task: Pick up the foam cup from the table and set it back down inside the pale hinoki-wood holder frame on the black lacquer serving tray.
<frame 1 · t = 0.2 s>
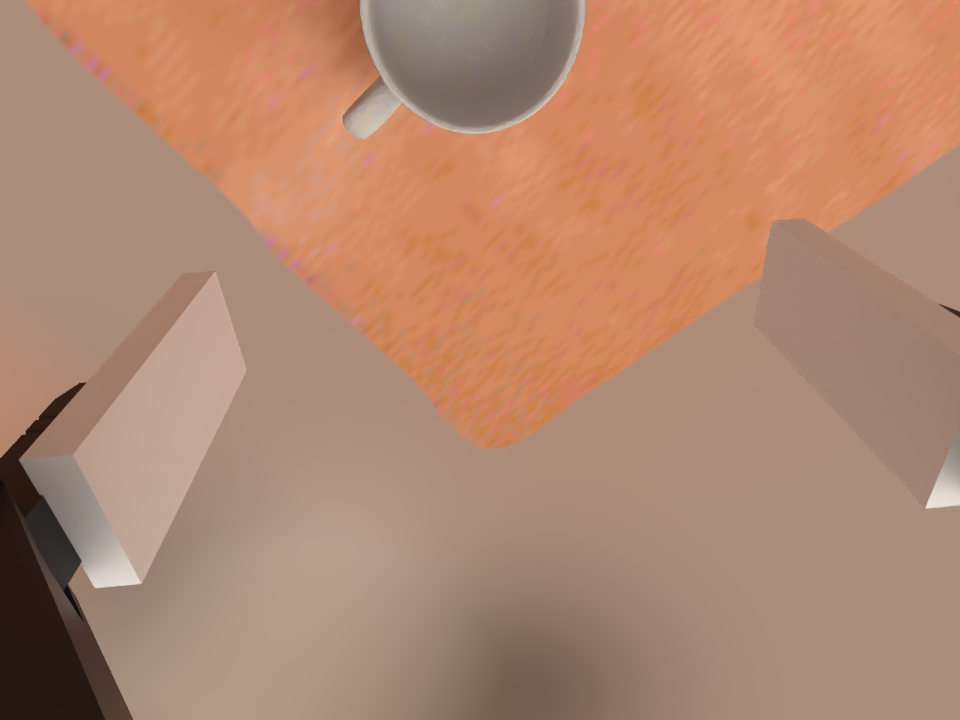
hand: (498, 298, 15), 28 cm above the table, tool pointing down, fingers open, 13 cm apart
teacup: (443, 25, 37), on the table
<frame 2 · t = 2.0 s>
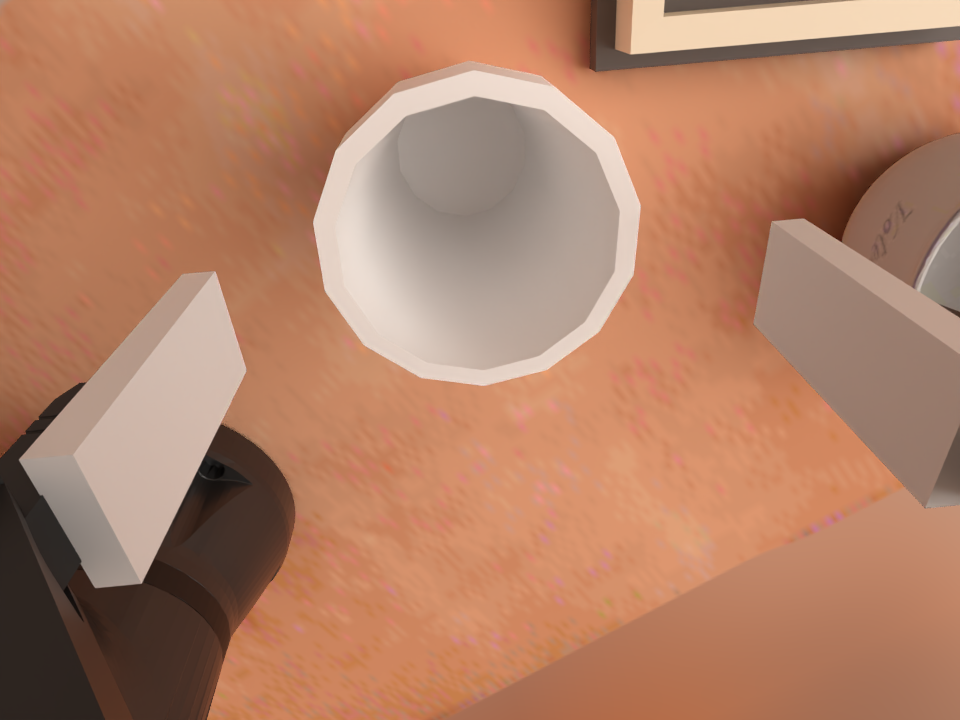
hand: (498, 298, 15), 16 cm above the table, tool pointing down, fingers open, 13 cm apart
teacup: (916, 242, 33), on the table
foam cup: (461, 148, 29), on the table
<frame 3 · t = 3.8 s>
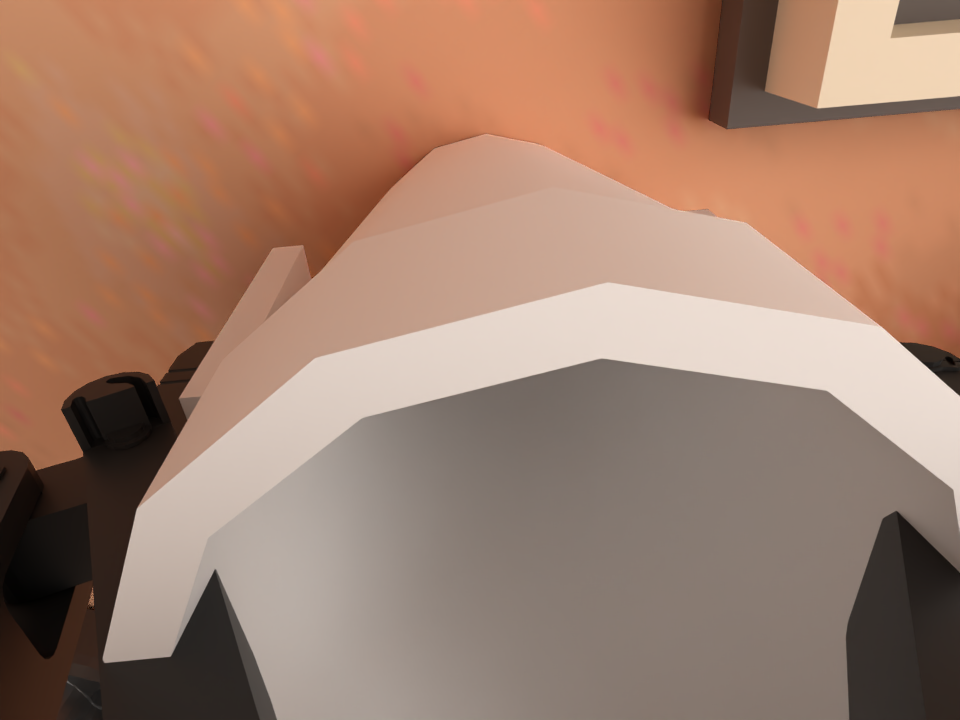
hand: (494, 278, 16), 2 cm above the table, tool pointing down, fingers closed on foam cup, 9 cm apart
foam cup: (488, 246, 18), on the table, touching gripper
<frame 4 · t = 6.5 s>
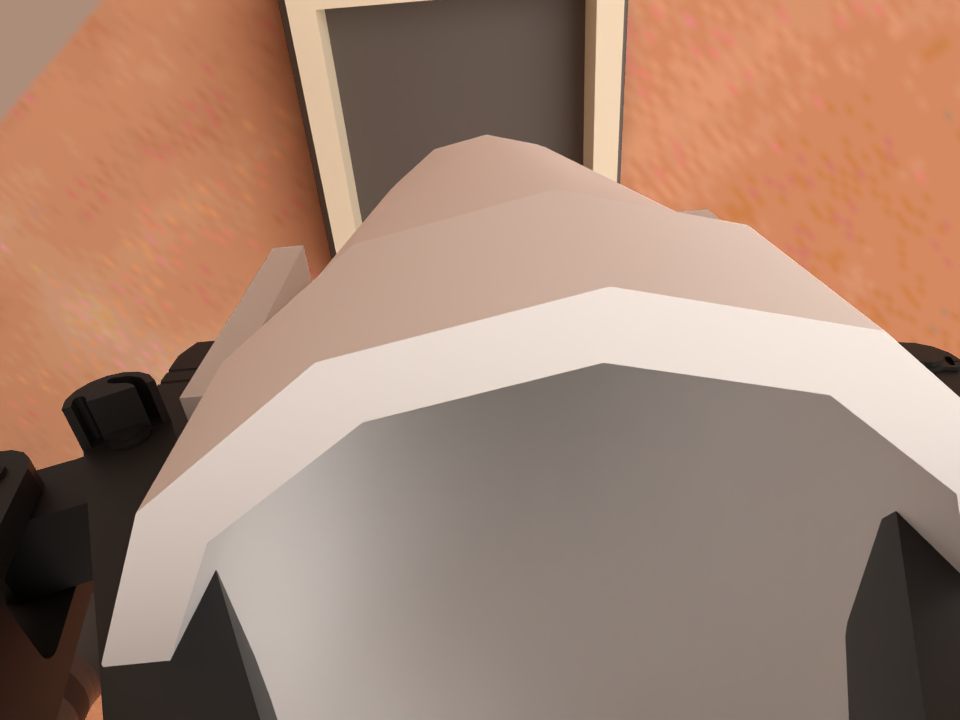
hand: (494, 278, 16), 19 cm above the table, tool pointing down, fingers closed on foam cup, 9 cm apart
tray: (465, 128, 33), on the table
foam cup: (488, 247, 18), point 17 cm above the table, touching gripper
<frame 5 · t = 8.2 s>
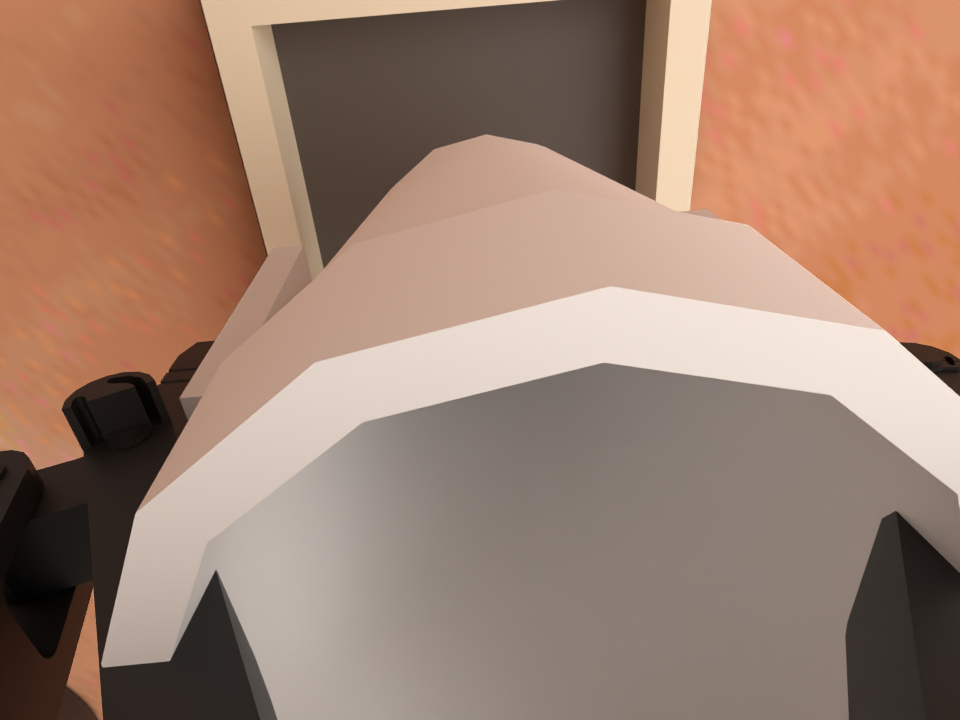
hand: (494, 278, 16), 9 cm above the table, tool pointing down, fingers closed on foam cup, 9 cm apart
tray: (472, 184, 24), on the table
foam cup: (488, 247, 18), point 7 cm above the table, touching gripper
when the fingers open (5 cm above the table, at t = 9.5 s): foam cup drops 2 cm, resting on tray.
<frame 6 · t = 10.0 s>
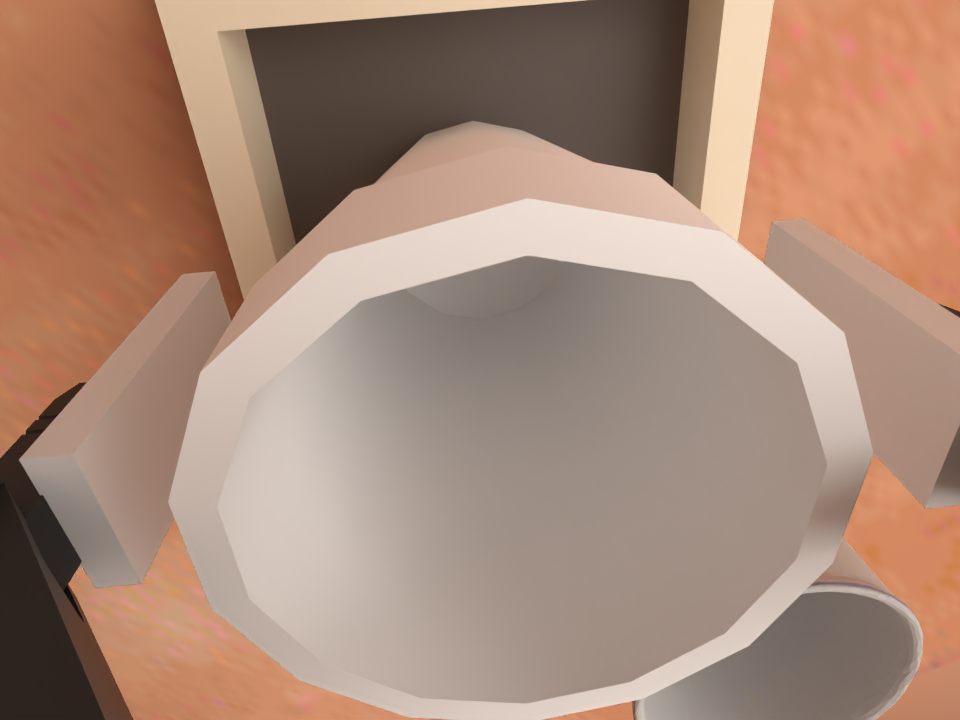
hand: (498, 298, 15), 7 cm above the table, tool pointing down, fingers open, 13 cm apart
tray: (481, 211, 21), on the table
teacup: (709, 550, 30), on the table
foam cup: (476, 223, 20), point 1 cm above the table, touching tray
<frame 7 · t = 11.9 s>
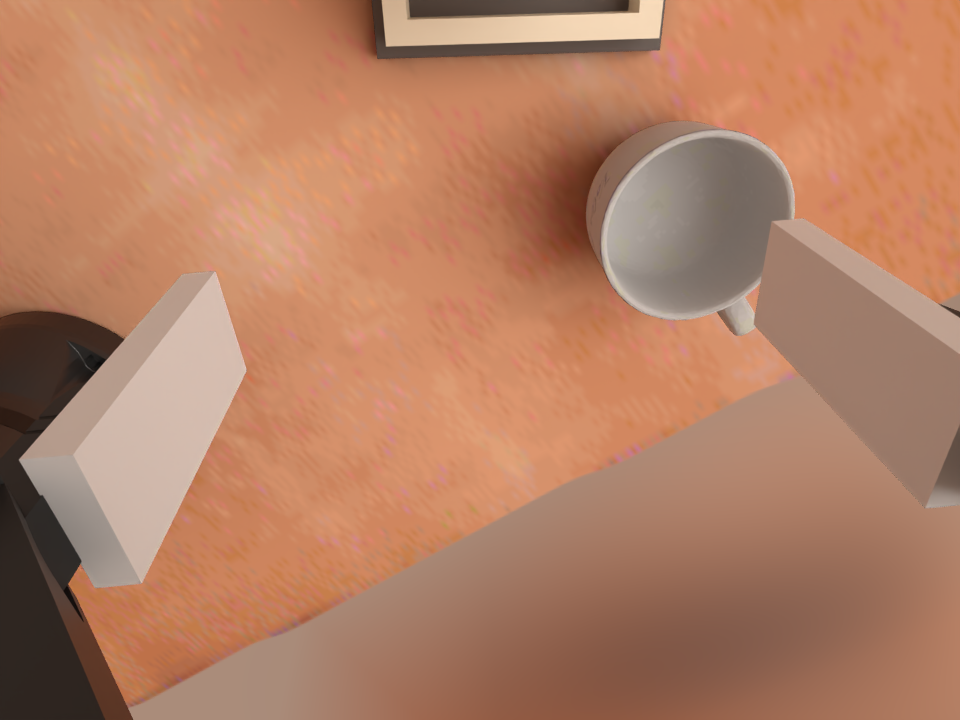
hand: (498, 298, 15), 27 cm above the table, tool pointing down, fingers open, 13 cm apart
teacup: (664, 212, 42), on the table
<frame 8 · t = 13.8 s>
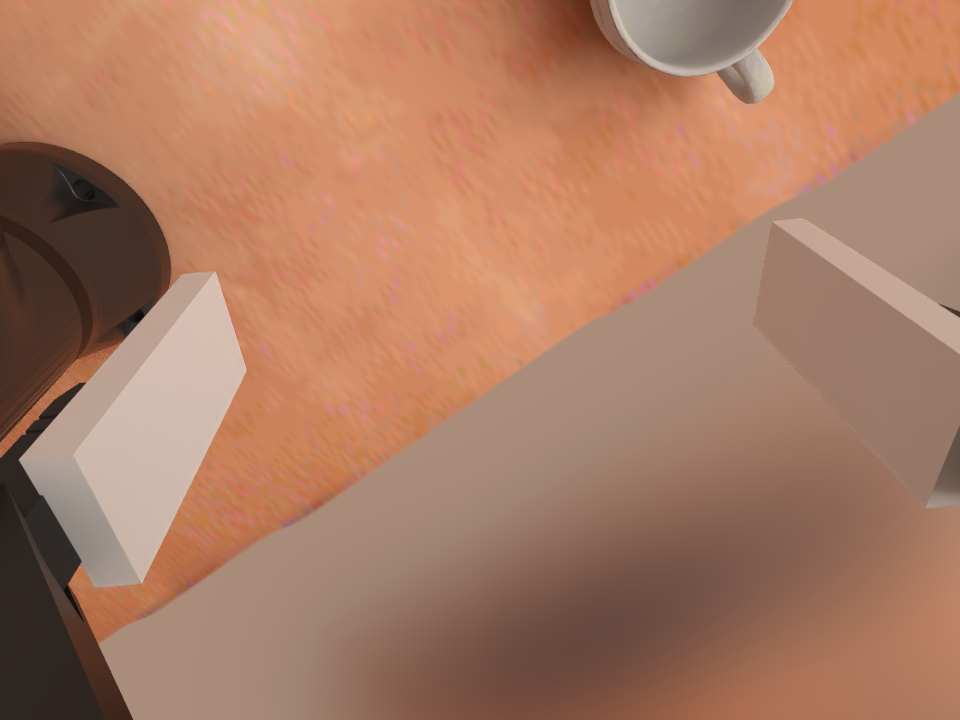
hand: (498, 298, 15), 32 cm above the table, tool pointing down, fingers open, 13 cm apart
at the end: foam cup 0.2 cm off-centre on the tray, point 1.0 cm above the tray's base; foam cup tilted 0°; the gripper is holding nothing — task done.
